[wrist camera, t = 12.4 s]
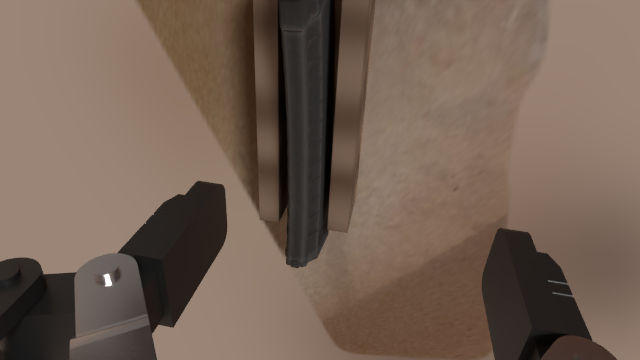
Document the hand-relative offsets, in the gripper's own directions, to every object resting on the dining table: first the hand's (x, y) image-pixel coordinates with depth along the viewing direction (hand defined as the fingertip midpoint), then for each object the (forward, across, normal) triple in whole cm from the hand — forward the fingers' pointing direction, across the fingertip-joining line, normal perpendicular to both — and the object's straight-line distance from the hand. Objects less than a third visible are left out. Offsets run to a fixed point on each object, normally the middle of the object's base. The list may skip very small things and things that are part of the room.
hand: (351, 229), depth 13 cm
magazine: (+30, +6, +7) cm, 32 cm away
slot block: (+31, +6, +6) cm, 32 cm away
